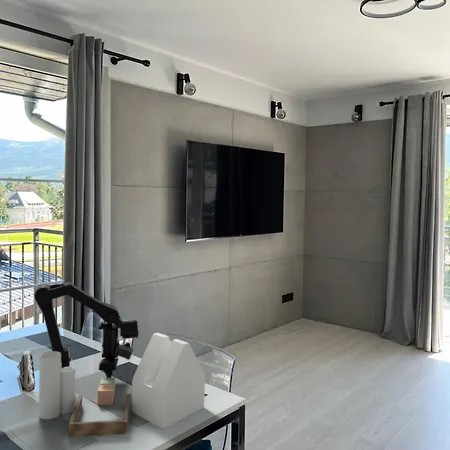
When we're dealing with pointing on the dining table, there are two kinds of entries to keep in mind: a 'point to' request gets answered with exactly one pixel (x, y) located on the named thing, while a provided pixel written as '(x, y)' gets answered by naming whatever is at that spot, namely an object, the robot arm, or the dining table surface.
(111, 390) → the terracotta block
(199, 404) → the white slotted block
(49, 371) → the white tubes
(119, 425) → the box
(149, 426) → the dining table surface
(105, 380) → the sage block
